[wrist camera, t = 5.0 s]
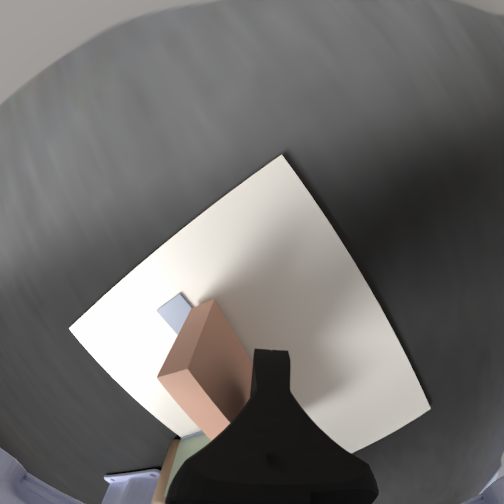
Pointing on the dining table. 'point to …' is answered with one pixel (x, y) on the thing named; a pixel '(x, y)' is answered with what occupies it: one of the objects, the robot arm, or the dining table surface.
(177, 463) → the fence fixed
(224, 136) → the dining table surface
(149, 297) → the card
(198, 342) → the fence panel
